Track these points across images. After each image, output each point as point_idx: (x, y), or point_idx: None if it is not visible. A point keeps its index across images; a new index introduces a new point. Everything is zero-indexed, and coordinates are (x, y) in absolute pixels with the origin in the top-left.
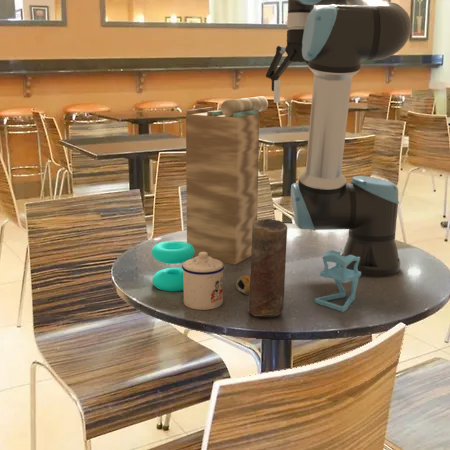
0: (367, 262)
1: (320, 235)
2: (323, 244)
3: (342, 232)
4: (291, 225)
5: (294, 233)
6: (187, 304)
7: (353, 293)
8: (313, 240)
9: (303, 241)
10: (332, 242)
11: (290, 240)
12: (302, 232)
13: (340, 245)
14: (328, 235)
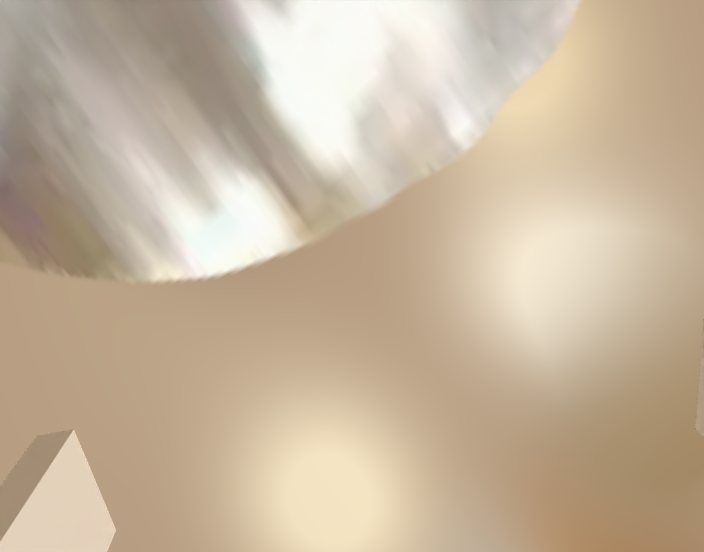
0: None
1: (214, 148)
2: (132, 52)
3: (183, 233)
4: (369, 190)
5: (297, 106)
6: None
7: None
8: (190, 73)
9: (208, 35)
10: (127, 99)
11: (251, 11)
12: (284, 138)
13: (83, 84)
14: (194, 167)
